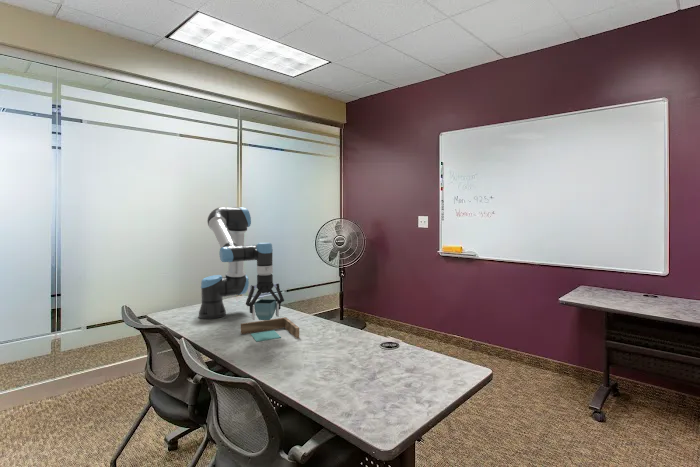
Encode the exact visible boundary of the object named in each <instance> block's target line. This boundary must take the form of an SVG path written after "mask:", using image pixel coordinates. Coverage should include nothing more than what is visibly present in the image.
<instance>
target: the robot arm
mask: <svg viewBox="0 0 700 467" xmlns="http://www.w3.org/2000/svg"><path fill="white" fill-rule="evenodd" d="M206 222H207V226H208V228H209V229H210V231H212V232H213V234H214V235H215V238H216V241H217V243H218V244H219V246H220V248H219V260H220V262H221V263H228V271H227V272H226V273H225V276H223V275H221V274H213V275H209V276H206V277H204V278H202V279H201V281H200V284H201V285H200V288H201V289H200V291H201V293H200V294H201V304H200V307H199V310H198V318H200V319H201V320H202V319H203V320H205V319H206V320H213V319H218V318H219V319H220V318H223V317H225V316H226V314H227V311H226V307H225V305H224V302H223V298H225V297H233V296H240V295H244V294H246V293H247V292H248V290H249V284H250V282H249V277H248V275H247V273H246V272H245V271H244V262H245V261H250V262H251V261H256V273H257V275H256V285H253V284H251V285H250V291H249V293H248V296H247V298H246V301H245V305H246V307H249V313H250V314H251V319H252V321H255V320H256V319H255V318H256V316H255V315H256V313H255V307H254V303H255V302H257V301H258V300H259V297H260V296H261V294H268V293H269V294H271V296H272V297H273V298H274V300H276V309H275V316H276V317H277V318H280V316H279V315H280V310H281V304H282V303H283V302H285V299H284V296H283V294H282V291H281V289H280V284H279V283H278V282H275V283H274V279H273V277H274V275H273V273H274V271H273V270H274V269H273V244H272V243H271V242H257V244H252V245H245V234H246V232H247V231H248V228H249V227H250V226H251V225H252V217H251V213H250V211H249V209H248V208H247V207H243V206H241V207H240V206H226V207H225V206H220V207H217V208H215V209H213V210H212V211H211V212H210V213H209V215H208V217H207V221H206ZM273 288H275V290H276V293H277V294H275V292H274V290H273ZM256 289H257V290H256ZM255 290H256V293H255ZM254 293H255V295H254ZM277 295H278V296H277Z"/></svg>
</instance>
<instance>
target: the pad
mask: <svg viewBox="0 0 700 467" xmlns="http://www.w3.org/2000/svg"><path fill="white" fill-rule="evenodd" d="M250 336H251V337H252V338H253V339H254V340H255V342H256V343H258V342H263V341H271V340H276V339H281V338H282V336H281V335H280V334H279V333H278V332H276V330H275V329H272V330H266V331H259V332H253V333H250Z"/></svg>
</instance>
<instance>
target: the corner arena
mask: <svg viewBox="0 0 700 467" xmlns="http://www.w3.org/2000/svg"><path fill="white" fill-rule="evenodd" d="M278 329H285V330H286V331H287V332H288V333H290V334H291V335H292V336H293V337H294V338H295V339H300V326H298V325H296V324H295V323H294V322H293V321H292V320H290V319H289V318H288V317H286V316H285V317H277V318H271V319H270V320H258V321H249V322H244V323H243V322H242V323H240V334H241V335H244V334H251V333H258V332H264V331H271V330H278Z"/></svg>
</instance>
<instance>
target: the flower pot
mask: <svg viewBox="0 0 700 467" xmlns="http://www.w3.org/2000/svg"><path fill="white" fill-rule="evenodd" d="M276 303H277V301H276V300H275V298H274V299H269V298H267V299H265V298H264V299H263V298H261V299H257V300H256V302H255V303H254V305H253V306H254V307H255V315H256V316H255V317H257V319H258V321H263V320H270V319H273V317H274V314H276Z"/></svg>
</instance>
